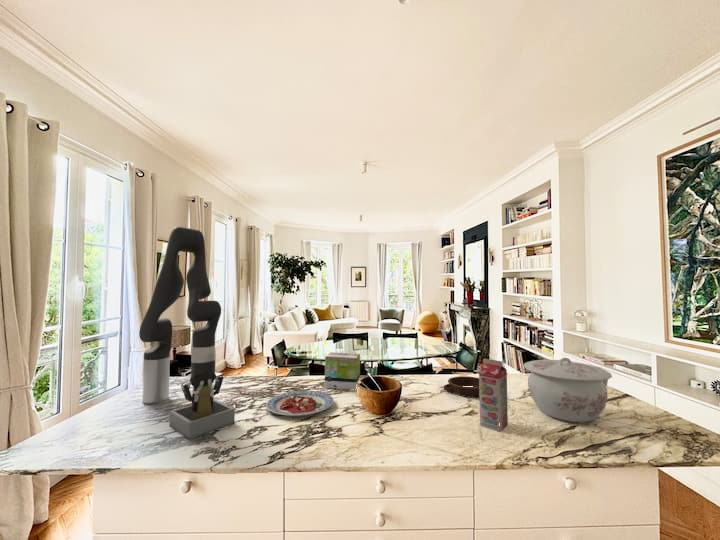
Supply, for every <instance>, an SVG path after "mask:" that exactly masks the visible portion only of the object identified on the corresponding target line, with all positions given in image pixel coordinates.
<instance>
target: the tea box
mask: <svg viewBox="0 0 720 540" xmlns="http://www.w3.org/2000/svg"><path fill="white" fill-rule="evenodd" d="M324 359H325V360H324V388H325V389H335V388H336V389H337V390H338V389H339V390H346V389H354V390H353V391H356V390H357V389H356V384H357V382H358V381H359V378H360V379H361V354H360V353H351V352H350V353H348V352H346V353H345V352H329V353H328V354H327V355H326V356H324ZM336 389H335V390H336ZM355 389H356V390H355Z"/></svg>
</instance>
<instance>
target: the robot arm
mask: <svg viewBox="0 0 720 540" xmlns="http://www.w3.org/2000/svg"><path fill="white" fill-rule="evenodd" d="M205 244H206V243H205V237H204V234H203V232H202V231H200V230H198V229H194V228H189V227H188V228H187V227H184V226H175V227H173V228H172V229H171V232H170V234H169V238H168V241H167V246H166V250H165V254H164V259H163V263H162V265H161V269H160V272H159V275H158V277H157V280H156V283H155V286H154V290H153V293H152V297H151V300H150V303H149V305H148V307H147V310H146V313H145V315H144V317H143V320H142V322H141V324H140V327H139V333H138V336H139V340H140V341H141V342H142V343H155V342H157V343H156V344H155V345H154V346H153V347H152V348H149V349H147V350H146V351H145V352H143V373H142V374H143V377H142V403H143V404H156V403H160V402H161V403H163V402H164V401H166V400H168V399H169V396H170V371H171V370H170V367H171V366H170V365H171V363H170V362H171V350H172V340H173V324H172V321H171V320H170V318H160V317H161V316H162V315H163V313H165V311H167V310H168V309H169V308H170V307H171V306H172V305H173V304H175V303H176V301H177V300H178V299H179V297H180V296H181V293H182V291H183V287H184V285H185V281H186V286H187V290H188V304H187V310H186V315H187V318H188V319H189V320H190V321H191V322H194V323H198V322H199V323H200V322H206V323H205V325H204V326H203V327H200V328H196V329H195V330H193V331H192V346H191V354H190V355H191V357H190V358H191V359H190V361H191V362H190V378H189V381H187V382H186V383H184V382H183V383H181V384H180V387H181V389H182V393H183V396H184V398H185V400H186V401H188V402H191V403H192V411H193V412H195V413H196V412H197V409H198V398H199V396H198V394H199V392H200V391H199V390H201V389H202V387H203V386H209V387H211V393H210V402H211V408H212V406H213V399H214V396H216V395H218V394H219V393H220V392H221V391H220V390H221V387H222V385H223V381H224V376H222V375H220V374H219V375H217V374H216V357H217V356H216V355H217V354H216V331H217V328H218V324H219V321H220V318H221V315H222V306H221V304H220V302H219V301H218V300H205V299H206V298H208V297H210V295H211V292H212V290H211V285H210V281H209V277H208V274H207V273H208V272H207V265H206V263H207V261H206V245H205ZM180 252H182V253H183V252H184V253H188V254H189V253H191V254H193V257H194V259H193V262H192V264H191V265H190V267H189V268H188V270H187V272H186V280H185V279H184V276H183V274H182V272H181V268H180V266H179V262H178V257H179V253H180ZM203 299H204V300H203ZM213 383H214V385H213ZM191 386H192V387H193V388H192V391H191V390H190V389H191ZM195 389H196V390H197V391H195Z"/></svg>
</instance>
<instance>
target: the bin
mask: <svg viewBox="0 0 720 540" xmlns="http://www.w3.org/2000/svg"><path fill="white" fill-rule="evenodd" d="M182 407H183V406H182ZM211 410H212V415H209V416H206V417H203V418H200V419H197V420H194V421H193V415H194V412H193V411H192V405H190V406H186V407H183V408H181V407H179V408H177V409H172V410H170V411H169V425H168V426H169V427H170V428H171V429H172V430H174V431H176V432H177V433H179V434H180V435H182V436H183V437H184V438H186V439H187V440H192V439H195V438H199V437H200V436H203V435H206V434H209V433H212V432H215V431H218V430H220V429H223V428H226V427H229V426H232V425H234V424H235V414H236V413H235V412H236V410H235V407H233V406H230V405H228V404H226V403H223V402H221V401H219V400H217V399H215V398H213V406H212V408H211ZM231 424H232V425H231Z"/></svg>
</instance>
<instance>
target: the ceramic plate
mask: <svg viewBox="0 0 720 540" xmlns="http://www.w3.org/2000/svg"><path fill="white" fill-rule="evenodd" d="M333 404H334V398H333V397H332V396H331V395H330V394H328V393H325V392H322V391H316V390H295V391H288V392H285V393H280V394H278V395H275V396H273V397H271V398H270V399H268V401H266V404H265V407H266V409H267V410H268V411H270V412H271V413H274V414H276V415H281V416H287V417H288V416H290V417H291V416H292V417H293V416H294V417H295V416H296V417H298V416H308V415H313V414H316V413H320V412H323V411H325V410H327V409H329V408H330V407H331V406H332V405H333Z"/></svg>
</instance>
